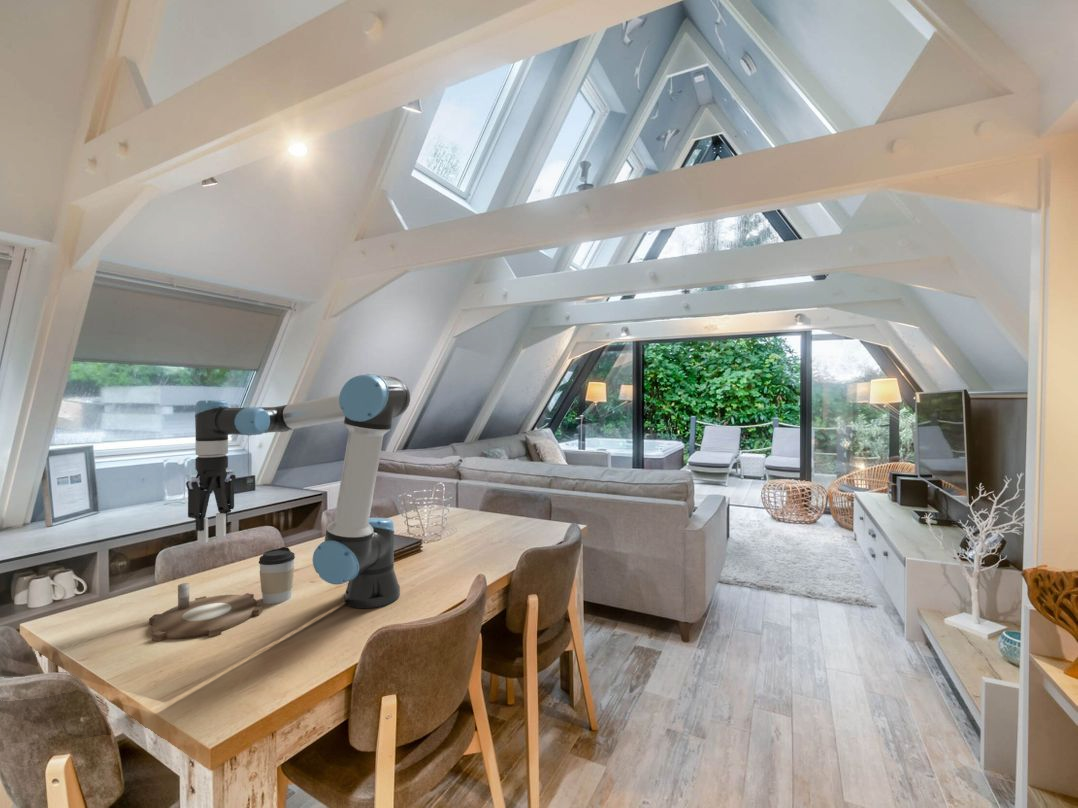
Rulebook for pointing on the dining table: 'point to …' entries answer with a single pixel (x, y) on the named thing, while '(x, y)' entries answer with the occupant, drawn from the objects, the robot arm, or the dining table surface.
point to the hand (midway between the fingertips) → (212, 538)
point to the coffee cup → (276, 575)
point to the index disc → (203, 615)
